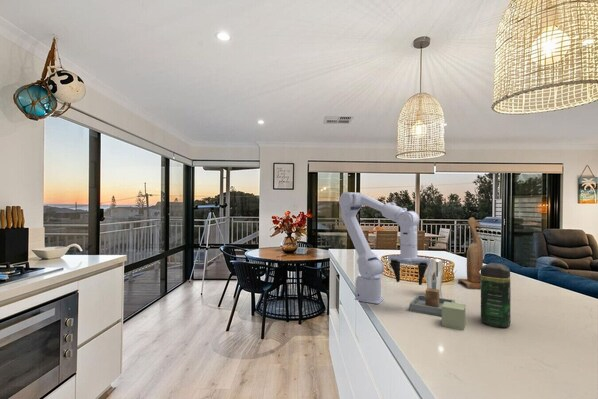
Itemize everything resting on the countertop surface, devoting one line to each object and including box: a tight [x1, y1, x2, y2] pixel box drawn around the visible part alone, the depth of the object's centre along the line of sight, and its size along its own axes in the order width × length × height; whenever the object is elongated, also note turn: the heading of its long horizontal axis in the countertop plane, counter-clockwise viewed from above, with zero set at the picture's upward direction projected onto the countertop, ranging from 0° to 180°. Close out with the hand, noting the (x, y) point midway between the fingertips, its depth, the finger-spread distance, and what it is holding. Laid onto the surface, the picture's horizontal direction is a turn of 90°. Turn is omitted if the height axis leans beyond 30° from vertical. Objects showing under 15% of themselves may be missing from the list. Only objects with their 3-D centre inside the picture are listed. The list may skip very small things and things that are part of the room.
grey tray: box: [409, 294, 456, 317], centre depth 109 cm, size 13×13×2 cm
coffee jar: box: [480, 262, 512, 328], centre depth 96 cm, size 10×8×19 cm
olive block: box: [441, 301, 467, 331], centre depth 94 cm, size 6×6×6 cm
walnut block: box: [424, 287, 439, 308], centre depth 109 cm, size 4×4×6 cm
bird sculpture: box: [457, 216, 484, 290], centre depth 140 cm, size 11×12×32 cm
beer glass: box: [424, 258, 444, 298], centre depth 123 cm, size 7×7×15 cm
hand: (409, 282), depth 109 cm, fingers open, 7 cm apart
